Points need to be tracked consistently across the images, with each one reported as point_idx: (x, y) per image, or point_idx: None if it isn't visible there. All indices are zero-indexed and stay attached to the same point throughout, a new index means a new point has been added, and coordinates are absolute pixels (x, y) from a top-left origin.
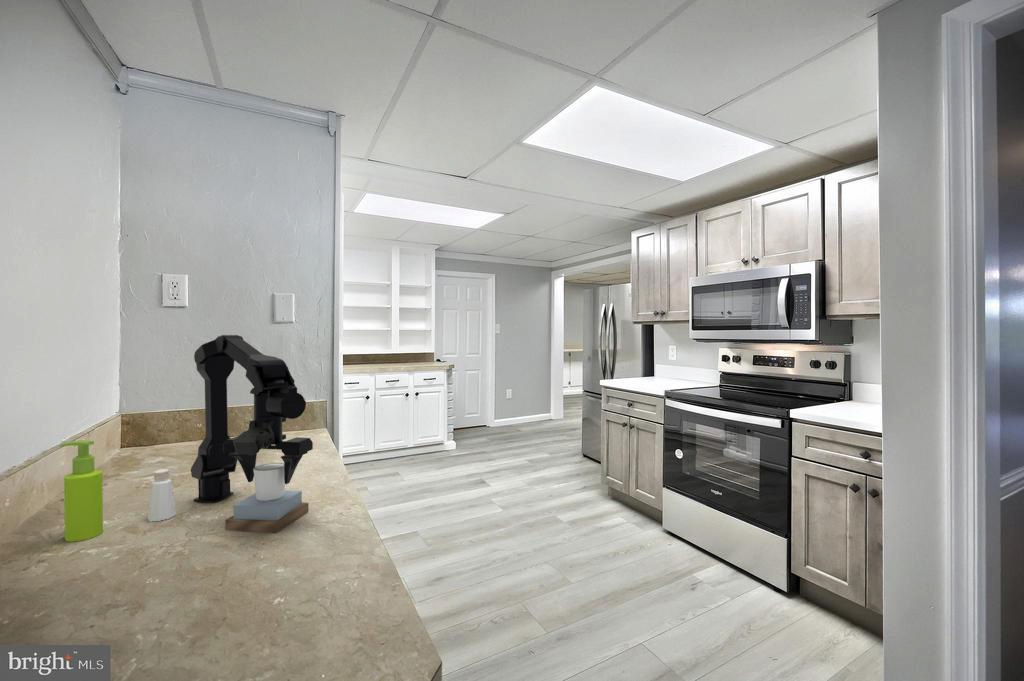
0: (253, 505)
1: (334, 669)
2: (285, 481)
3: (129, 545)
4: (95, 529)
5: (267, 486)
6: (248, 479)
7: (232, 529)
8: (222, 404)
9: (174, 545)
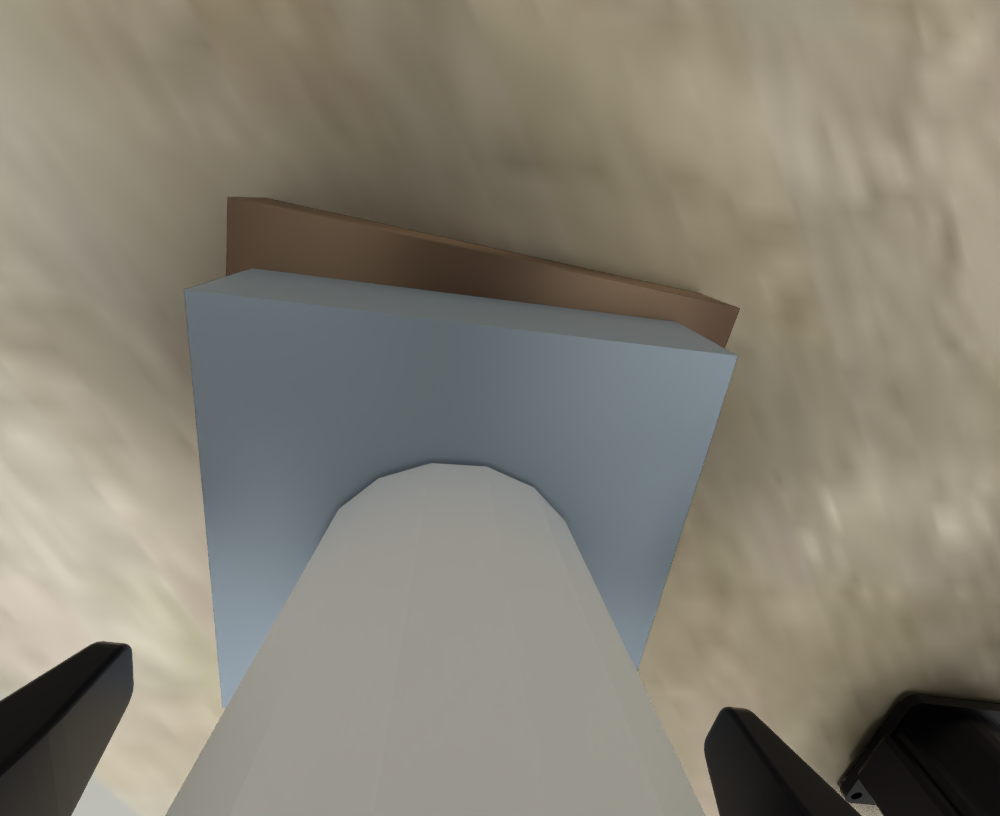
0: (508, 343)
1: None
2: (80, 674)
3: None
4: None
5: (386, 572)
6: (762, 738)
7: (646, 282)
8: None
9: (988, 10)
